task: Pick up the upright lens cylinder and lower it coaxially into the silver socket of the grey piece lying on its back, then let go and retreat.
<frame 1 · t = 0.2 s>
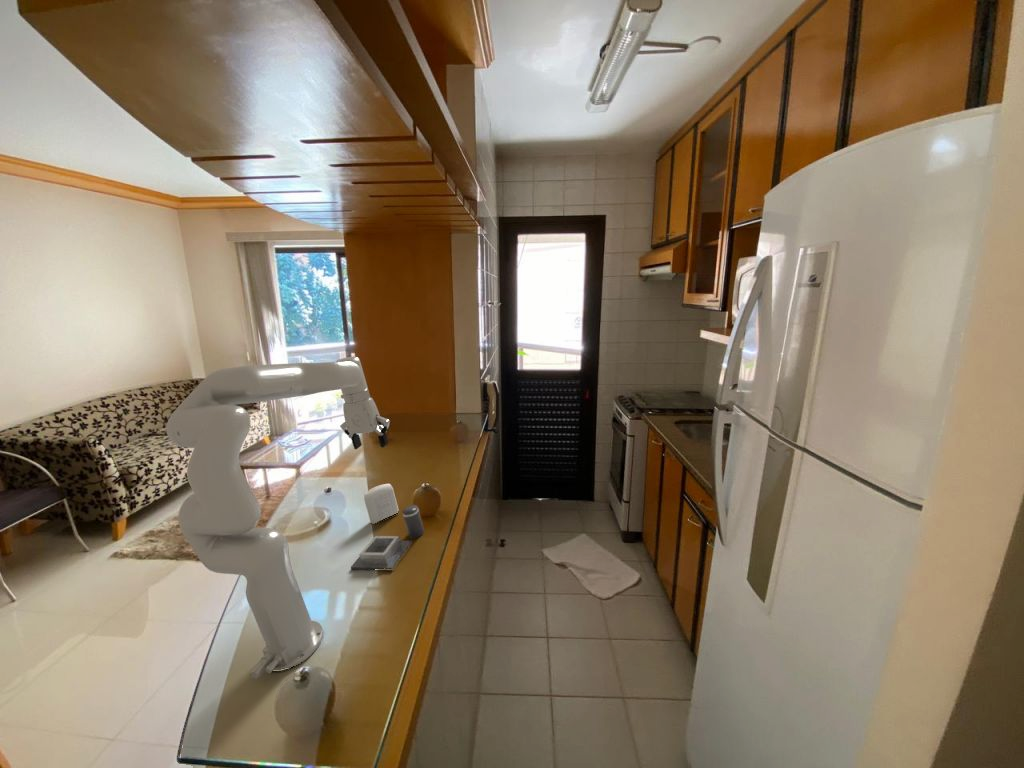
hand: (371, 446, 127), 30 cm above the table, fingers open, 9 cm apart
grey piece: (382, 556, 121), on the table
photo printer: (385, 517, 142), on the table
lens: (416, 533, 130), on the table
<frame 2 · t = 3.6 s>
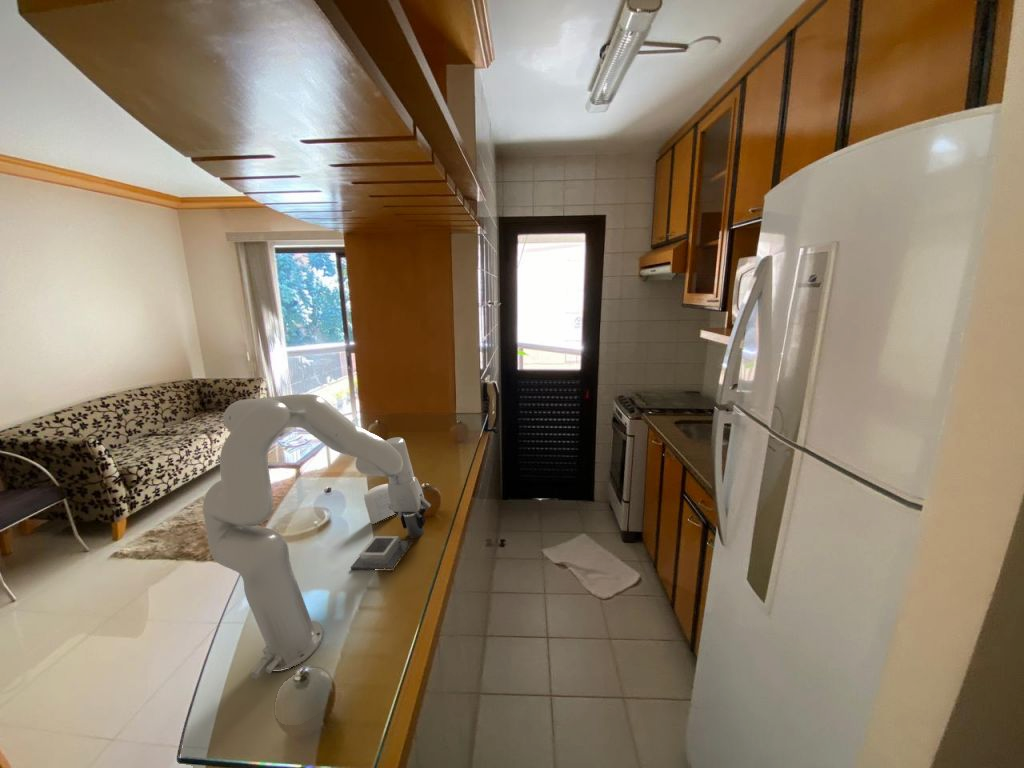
hand: (414, 525, 129), 3 cm above the table, fingers closed on lens, 5 cm apart
lens: (416, 533, 130), on the table, touching gripper
everything else where it was.
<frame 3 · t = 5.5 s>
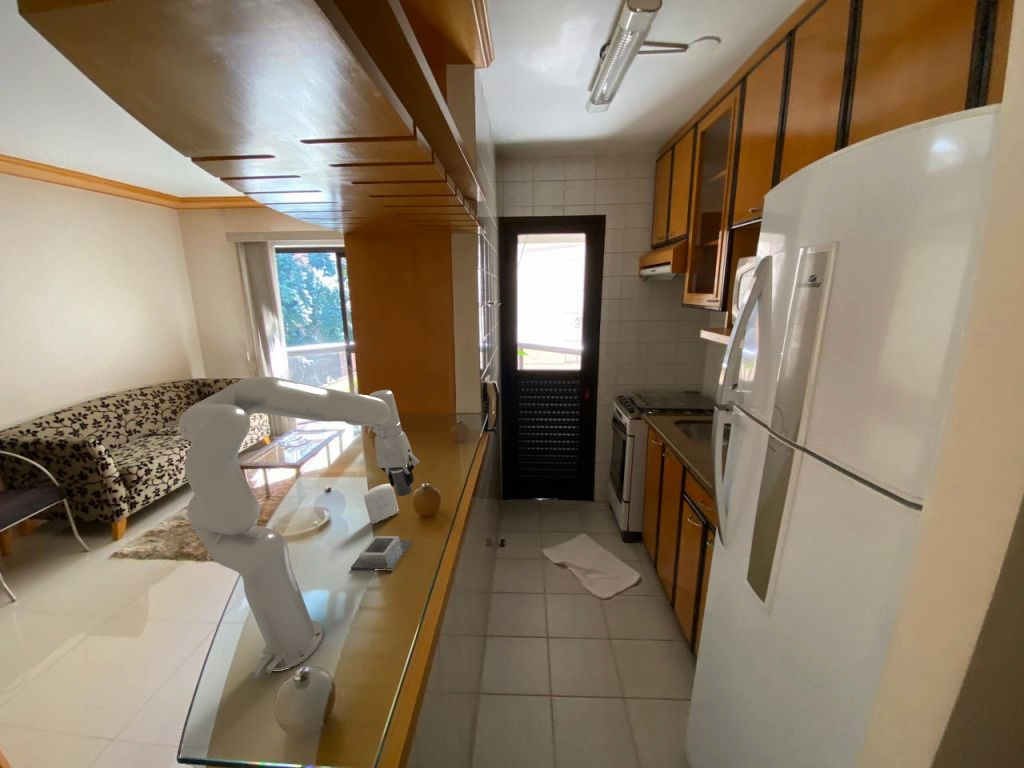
hand: (402, 483, 125), 19 cm above the table, fingers closed on lens, 5 cm apart
lens: (404, 491, 125), point 16 cm above the table, touching gripper
everything else where it was.
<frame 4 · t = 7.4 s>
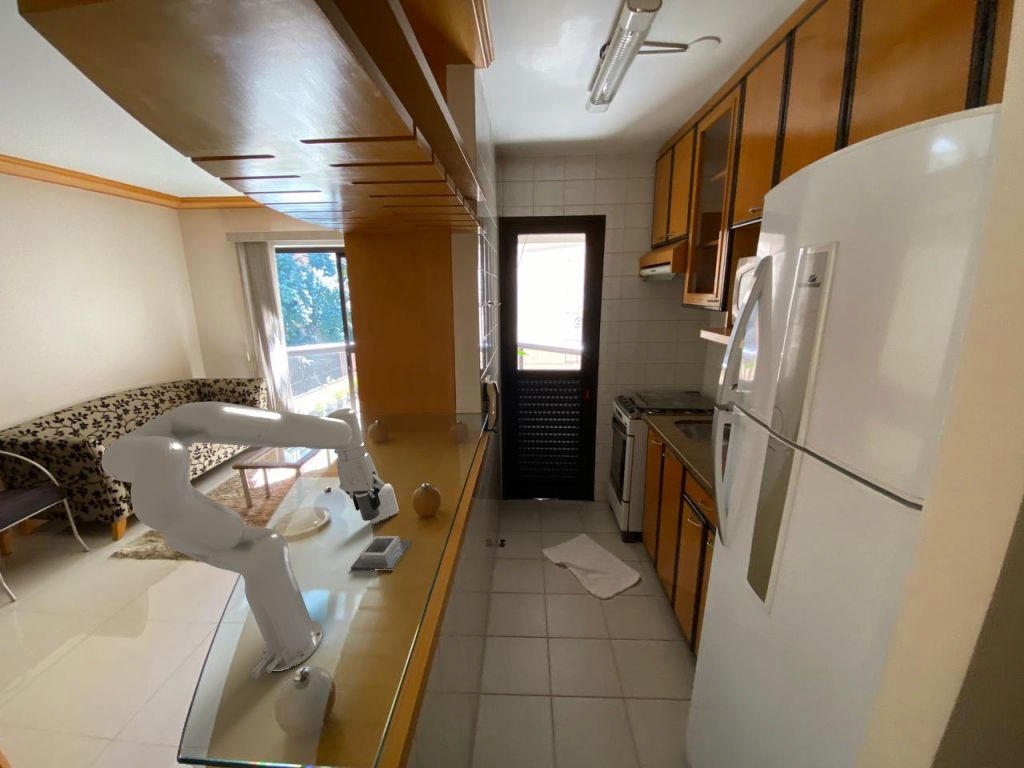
hand: (368, 507, 117), 17 cm above the table, fingers closed on lens, 5 cm apart
lens: (371, 515, 117), point 14 cm above the table, touching gripper
everything else where it was.
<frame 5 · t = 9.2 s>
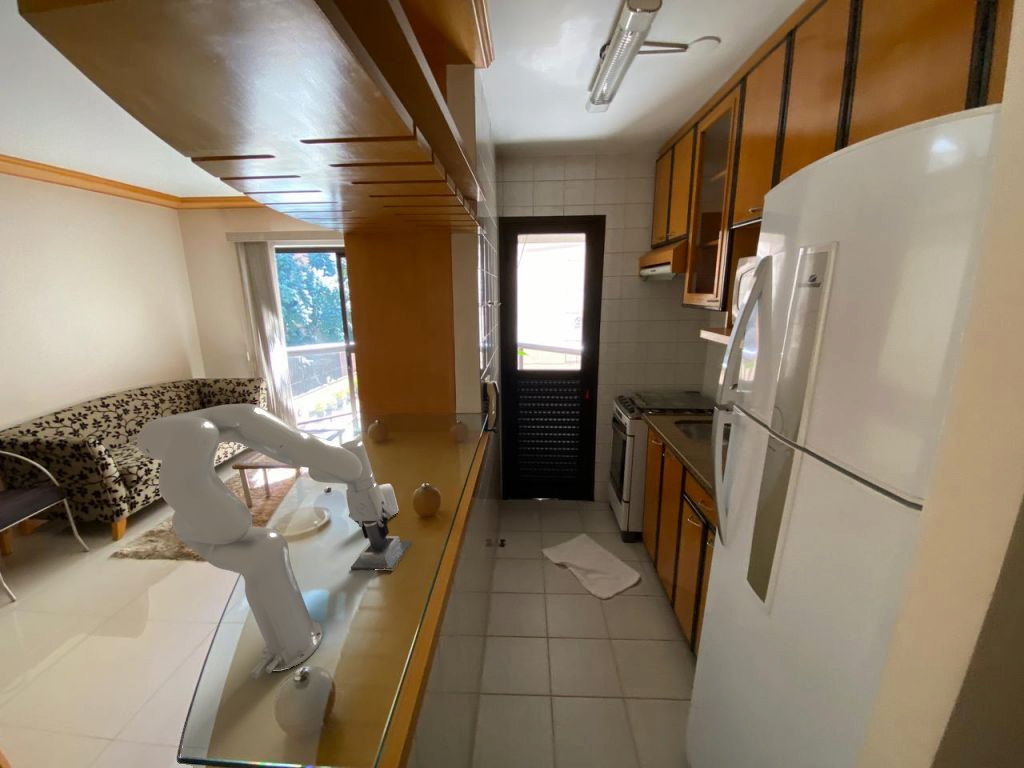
hand: (377, 535, 119), 7 cm above the table, fingers closed on lens, 5 cm apart
lens: (379, 543, 120), point 4 cm above the table, touching gripper
everything else where it was.
when the fingers open (5 cm above the table, at t = 11.1 s): lens stays where it is, resting on grey piece.
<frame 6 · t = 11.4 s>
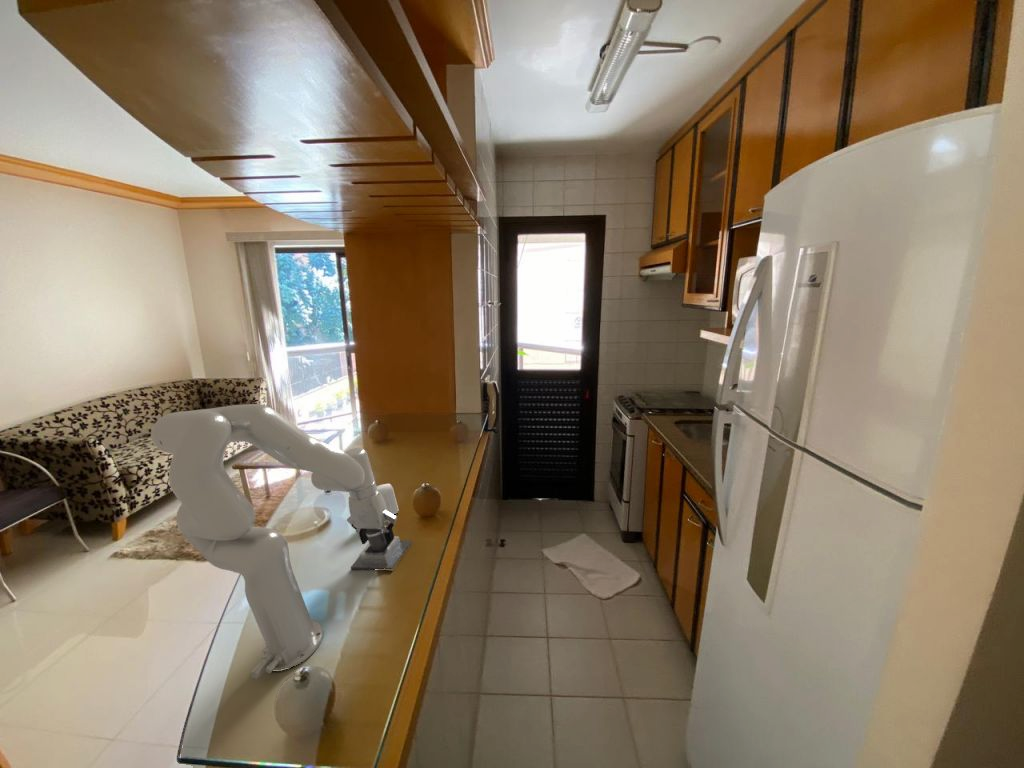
hand: (378, 541, 119), 5 cm above the table, fingers open, 8 cm apart
lens: (381, 553, 121), point 1 cm above the table, touching grey piece
everything else where it was.
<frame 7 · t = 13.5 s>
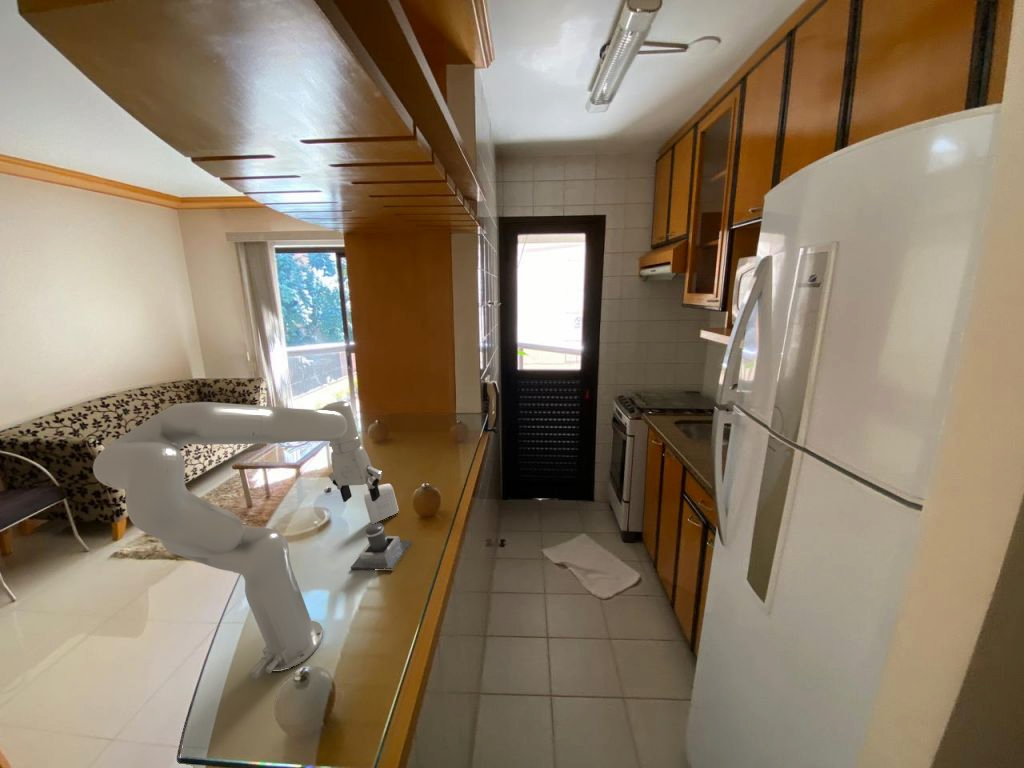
hand: (361, 499, 115), 20 cm above the table, fingers open, 9 cm apart
nothing on the table moved.
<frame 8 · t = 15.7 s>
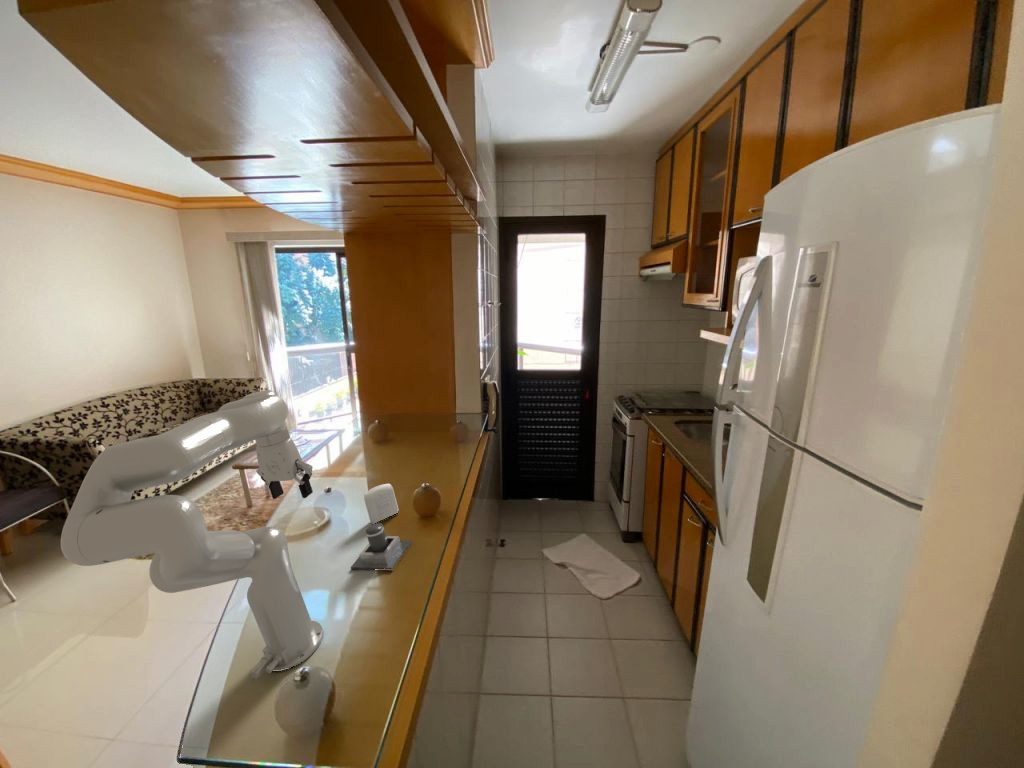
hand: (293, 495, 107), 28 cm above the table, fingers open, 9 cm apart
nothing on the table moved.
at the end: lens 0.1 cm off-centre on the grey piece, point 1.0 cm above the grey piece's base; lens tilted 0°; the gripper is holding nothing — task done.
